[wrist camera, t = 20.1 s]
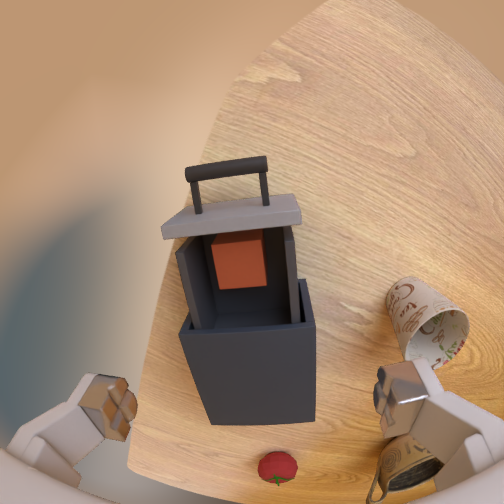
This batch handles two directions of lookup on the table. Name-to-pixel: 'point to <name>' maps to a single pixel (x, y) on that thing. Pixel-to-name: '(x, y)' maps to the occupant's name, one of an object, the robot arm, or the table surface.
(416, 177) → the table surface
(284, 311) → the drawer
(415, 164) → the table surface
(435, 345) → the mug
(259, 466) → the tomato
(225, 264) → the block
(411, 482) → the ceramic bowl
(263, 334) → the cabinet
